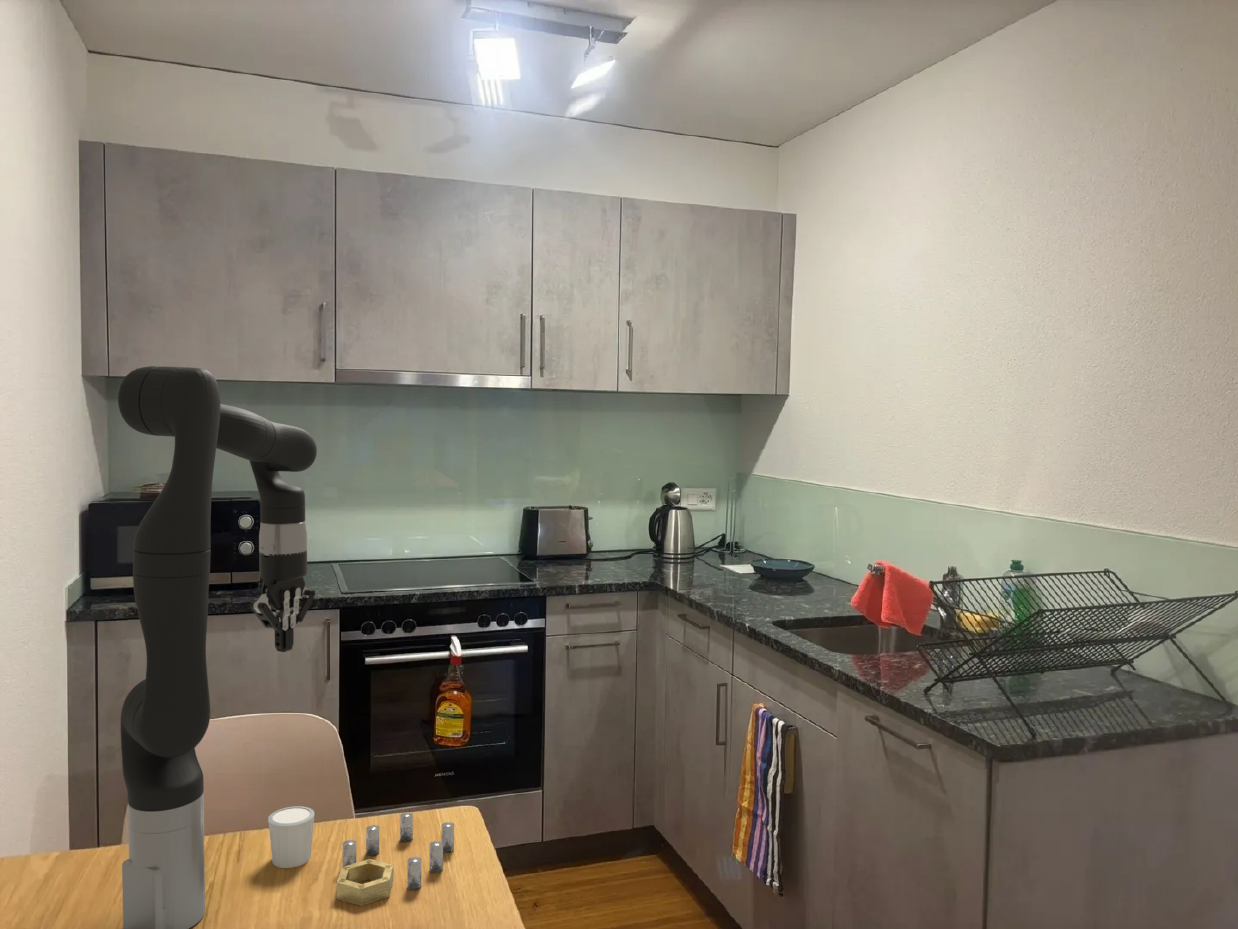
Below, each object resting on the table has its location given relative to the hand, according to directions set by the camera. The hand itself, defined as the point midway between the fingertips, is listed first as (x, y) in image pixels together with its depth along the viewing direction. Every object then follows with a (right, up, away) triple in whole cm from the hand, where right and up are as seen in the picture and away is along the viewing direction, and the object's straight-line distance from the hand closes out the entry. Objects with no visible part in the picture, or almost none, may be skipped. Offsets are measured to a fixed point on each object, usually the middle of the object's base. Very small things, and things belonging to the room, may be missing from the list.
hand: (284, 650), depth 154 cm
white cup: (+5, -30, -12) cm, 33 cm away
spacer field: (+23, -30, -12) cm, 40 cm away
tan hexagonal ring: (+19, -31, -20) cm, 42 cm away
